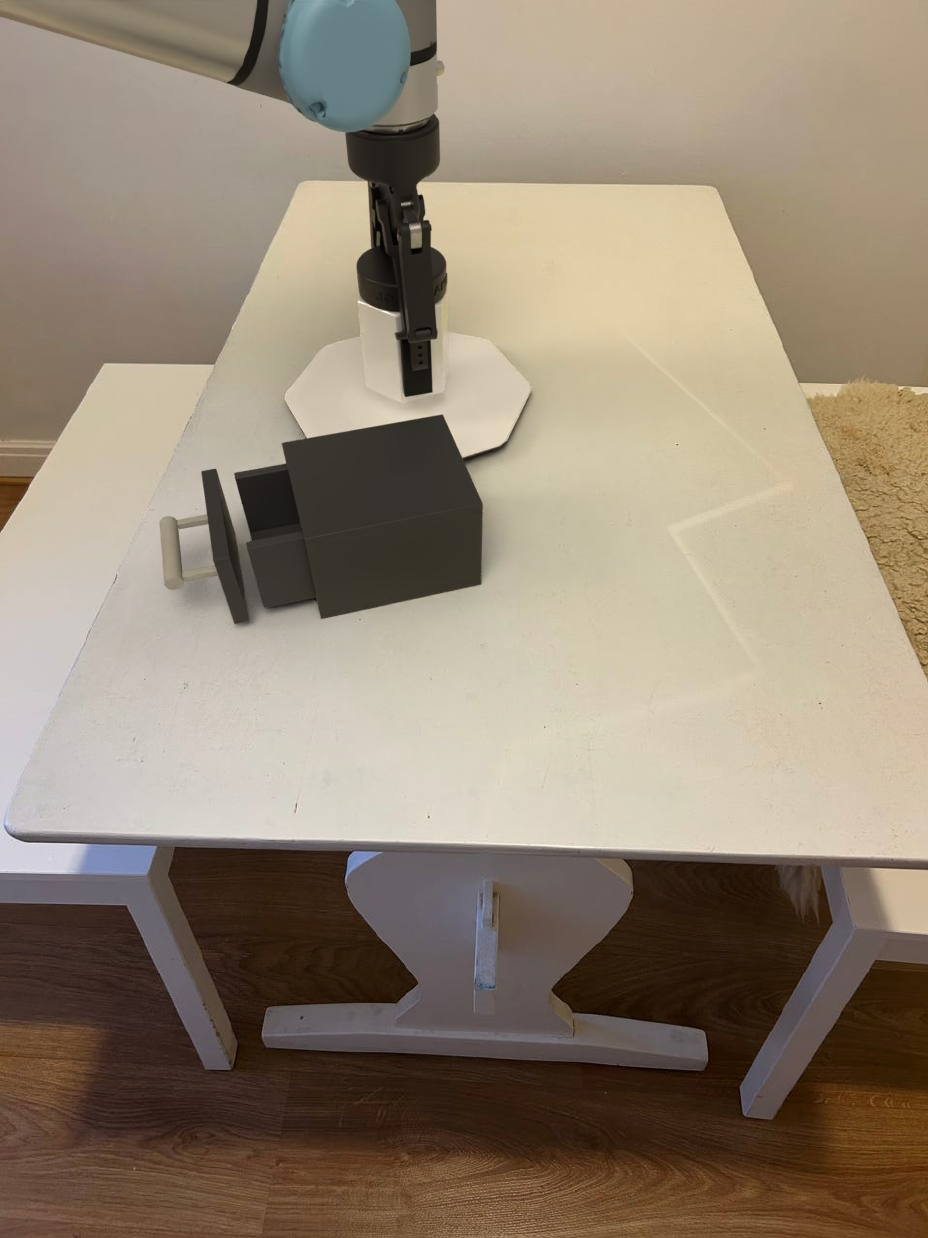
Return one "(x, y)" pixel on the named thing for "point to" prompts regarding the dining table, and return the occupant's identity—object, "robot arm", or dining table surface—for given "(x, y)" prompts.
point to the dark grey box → (386, 514)
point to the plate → (471, 403)
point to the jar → (396, 324)
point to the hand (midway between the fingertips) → (406, 366)
